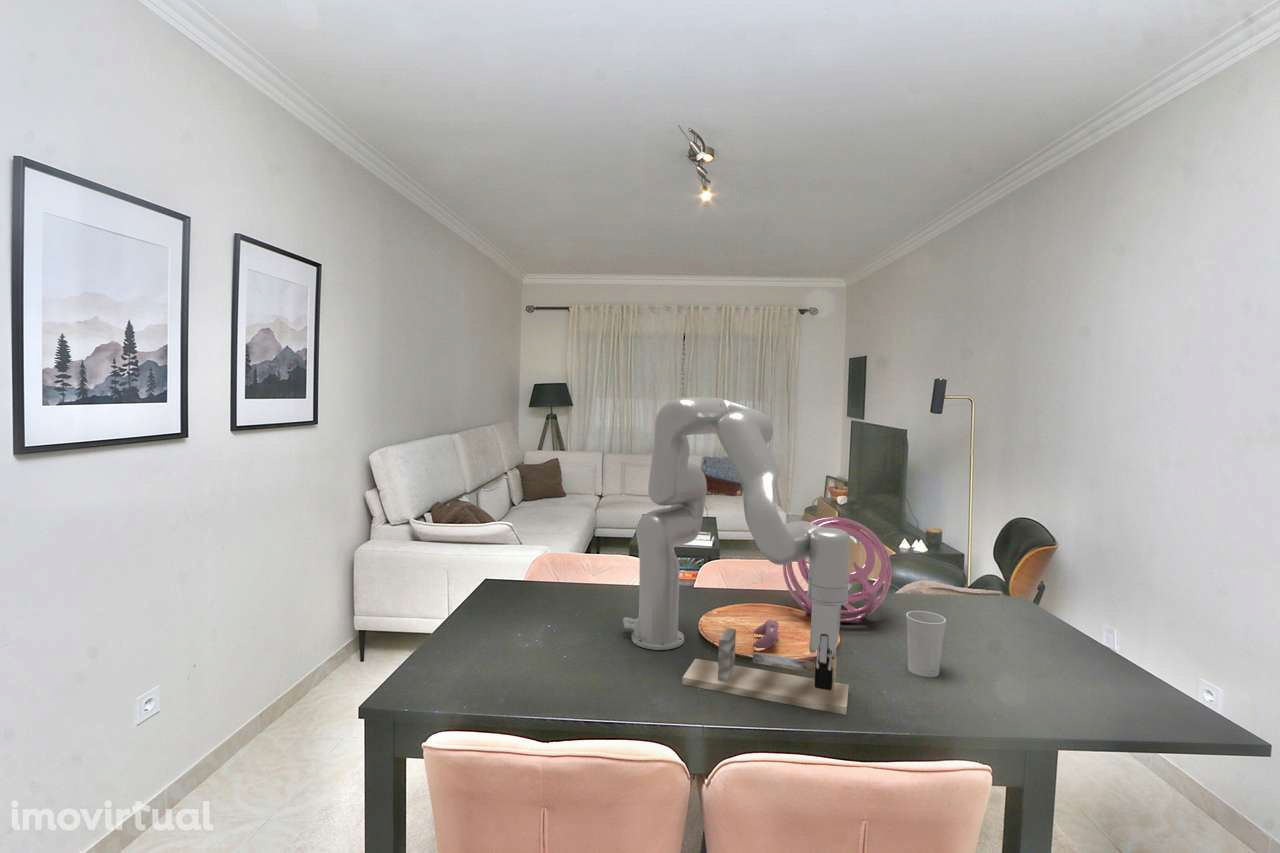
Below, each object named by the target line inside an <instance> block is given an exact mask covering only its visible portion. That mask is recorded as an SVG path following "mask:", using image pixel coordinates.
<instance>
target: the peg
mask: <svg viewBox="0 0 1280 853" xmlns="http://www.w3.org/2000/svg"><path fill="white" fill-rule="evenodd" d="M827 653H830V651H827ZM827 660H828V661H829V657H827ZM752 663H755V664H760V665H766V666H773V667H778V668H784V669H789V670H795V671H801V672H806V673H807V672H808V673H814V674H815V667H816V665H815V661H809V660H804V659H799V658H792V657H786V656H785V657H784V656H781V655H773V654H768V653H767V654H766V653H762V652H761V653H760V652H757V651H755V652H754V651H753V654H752ZM836 666H837V652H836V653H835V655H834V656H832V663H831V669H833V673H832V689H831V690H834V686H835V682H836V675H837V674H836V671H837V670H836V669H837V667H836Z"/></svg>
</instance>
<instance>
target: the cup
mask: <svg viewBox="0 0 1280 853" xmlns="http://www.w3.org/2000/svg"><path fill="white" fill-rule="evenodd" d="M905 618H906V619H905V621H906V641H907V644H906V645H907V670H908V671H909V672H910V673H912V674H913V675H917V676H919V677H923V678H924V677H925V678H935V677H938V676H940V665H941V664H940V663H941V656H942V649H943V641H944V636H945V632H946V625H947V619H946V618H945V617H944V616H942V615H941V614H937V613H935V612H931V611H927V610H924V611H923V610H912V611H908V612H906V613H905Z"/></svg>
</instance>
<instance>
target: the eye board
mask: <svg viewBox="0 0 1280 853" xmlns="http://www.w3.org/2000/svg"><path fill="white" fill-rule="evenodd" d="M736 635H737V629H736V628H732V627H725V629H724V631H723V632H722V634H721V636H720V637H719V639H718V660H717V661H712V660H705V659H701V658H695V659H694V660H693V662H692V663H691V665H690V666H689V667H688V668H687V670H686V672H685V673H684V675H683V676H682V682H681V683H682V685H683V686H687V687H688V686H689V687H693V688H698V689H705V690H710V691H715V692H720V693H726V694H732V695H736V696H742V697H747V698H752V699H758V700H764V701H769V702H775V703H780V704H785V705H790V706H795V707H801V708H805V709H806V708H807V709H811V710H816V711H822V712H827V713H834V714H839V715H844V716H847V710H848V700H849V699H848V698H849V687H850V685H849V684H848V683H841V682H836V681H835V686H834V690H824V689H819V688H815V678H814V677H813V678H811V677H806V676H800V675H795V674H788V673H783V672H782V673H781V672H775V671H770V670H765V669H759V668H753V667H747V666H741V665H736Z"/></svg>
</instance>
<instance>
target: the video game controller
mask: <svg viewBox="0 0 1280 853" xmlns="http://www.w3.org/2000/svg"><path fill="white" fill-rule="evenodd" d="M779 624H780V623H779V622H778V621H776V620H775V619H771V618H769V619H768V620H766V621H765V622H764V623H763V624H761V625H760V626H758V627H757V628H755V630H754V632H753V634H754V633H755V634H758V635H759V634H761V635H764V636H763V637H762V638H758V639H757V640H755V642H754V643H752V644H753V645H752V648H753V647H756V648H767V649H770V648H771V647H772V646H773V645H774V644H775V643H778V642H779V641H780V638H779V634H780V632H779V631H778V630H779ZM769 647H770V648H769Z"/></svg>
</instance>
